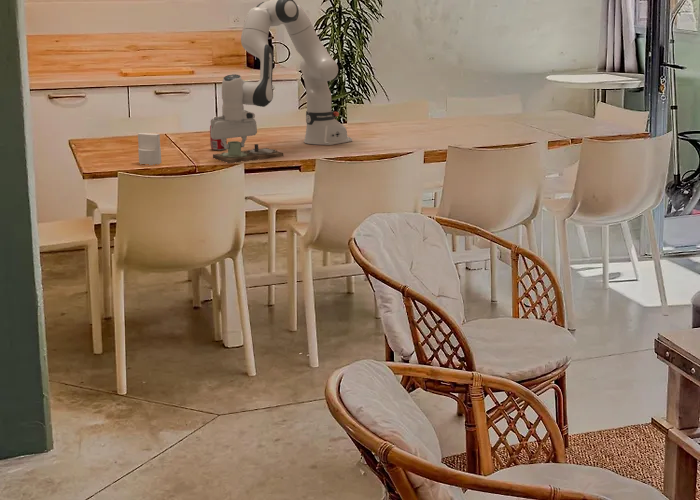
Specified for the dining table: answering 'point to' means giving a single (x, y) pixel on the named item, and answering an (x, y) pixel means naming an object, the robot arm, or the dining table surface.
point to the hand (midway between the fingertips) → (234, 148)
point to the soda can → (216, 143)
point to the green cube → (234, 148)
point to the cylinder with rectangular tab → (149, 148)
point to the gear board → (249, 155)
